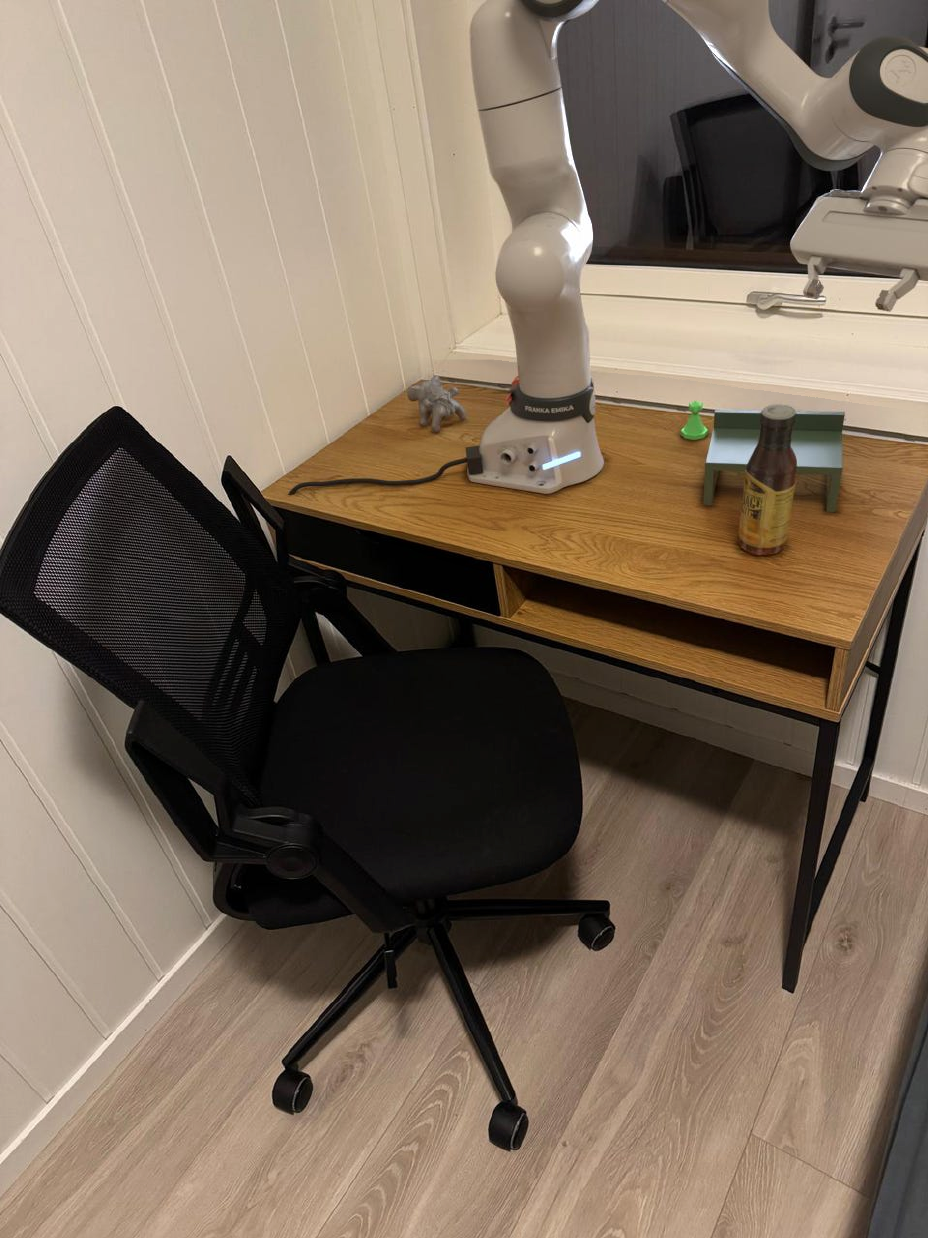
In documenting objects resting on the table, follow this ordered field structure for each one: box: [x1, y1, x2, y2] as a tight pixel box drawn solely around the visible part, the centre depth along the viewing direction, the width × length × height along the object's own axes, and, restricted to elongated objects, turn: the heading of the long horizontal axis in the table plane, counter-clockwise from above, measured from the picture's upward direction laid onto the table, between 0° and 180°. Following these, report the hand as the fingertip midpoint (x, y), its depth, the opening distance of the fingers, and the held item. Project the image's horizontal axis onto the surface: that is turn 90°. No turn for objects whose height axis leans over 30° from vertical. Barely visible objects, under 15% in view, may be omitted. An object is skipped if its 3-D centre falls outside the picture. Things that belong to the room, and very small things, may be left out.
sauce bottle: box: [738, 403, 797, 557], centre depth 109 cm, size 6×6×20 cm
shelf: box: [702, 409, 846, 513], centre depth 124 cm, size 18×12×10 cm, turn 71°
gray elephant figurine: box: [406, 375, 467, 434], centre depth 158 cm, size 9×12×8 cm
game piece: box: [680, 400, 709, 441], centre depth 142 cm, size 4×4×6 cm
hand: (844, 302), depth 103 cm, fingers open, 8 cm apart
